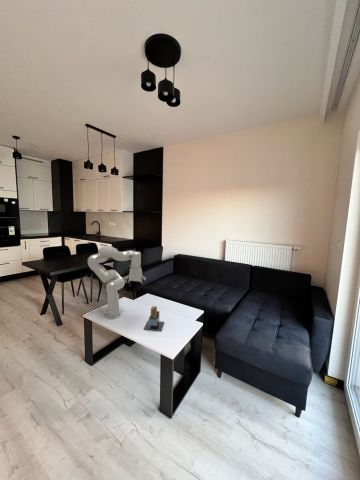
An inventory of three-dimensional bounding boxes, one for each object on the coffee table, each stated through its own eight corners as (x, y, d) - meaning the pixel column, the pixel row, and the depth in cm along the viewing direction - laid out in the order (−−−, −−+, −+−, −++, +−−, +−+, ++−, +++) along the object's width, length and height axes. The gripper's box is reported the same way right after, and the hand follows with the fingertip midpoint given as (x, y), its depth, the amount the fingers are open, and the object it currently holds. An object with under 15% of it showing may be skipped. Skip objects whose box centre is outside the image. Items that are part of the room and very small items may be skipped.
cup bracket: (143, 329, 152) (143, 315, 151) (147, 321, 164) (148, 308, 162) (161, 331, 150) (161, 316, 149) (164, 323, 162) (164, 309, 161)
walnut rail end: (150, 322, 153) (150, 308, 151) (151, 320, 157) (152, 306, 155) (155, 323, 152) (155, 308, 151) (156, 320, 156) (156, 306, 155)
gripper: (124, 267, 156) (123, 287, 158) (144, 268, 155) (144, 289, 157) (127, 264, 164) (127, 284, 166) (147, 266, 162) (146, 286, 164)
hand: (135, 286), depth 161 cm, fingers open, 9 cm apart
